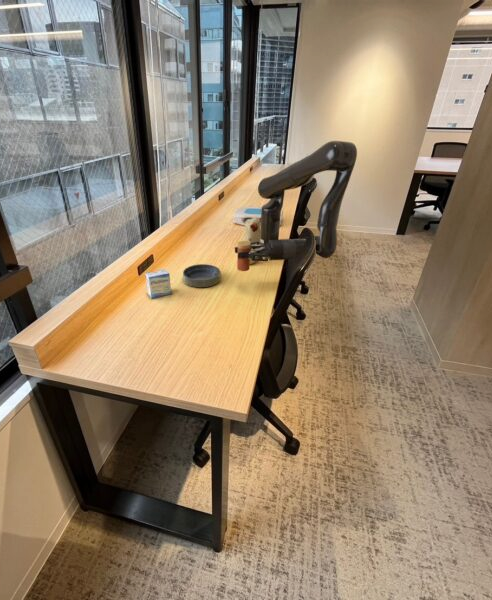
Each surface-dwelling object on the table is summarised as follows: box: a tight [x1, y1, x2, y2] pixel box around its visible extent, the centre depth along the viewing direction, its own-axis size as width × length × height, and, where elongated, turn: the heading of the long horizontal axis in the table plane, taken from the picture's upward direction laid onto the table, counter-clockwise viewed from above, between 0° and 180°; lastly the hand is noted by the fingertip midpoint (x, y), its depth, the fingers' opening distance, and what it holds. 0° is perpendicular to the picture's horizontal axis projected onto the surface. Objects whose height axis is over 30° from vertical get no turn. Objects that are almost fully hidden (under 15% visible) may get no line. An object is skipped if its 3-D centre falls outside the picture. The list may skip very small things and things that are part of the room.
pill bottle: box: [236, 240, 251, 272], centre depth 120 cm, size 5×5×10 cm
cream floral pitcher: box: [243, 217, 261, 265], centre depth 144 cm, size 10×7×20 cm
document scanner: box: [232, 206, 284, 226], centre depth 200 cm, size 21×28×6 cm
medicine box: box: [144, 269, 172, 299], centre depth 121 cm, size 8×4×9 cm, turn 117°
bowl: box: [182, 263, 221, 288], centre depth 132 cm, size 15×15×4 cm
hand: (236, 252), depth 119 cm, fingers closed on pill bottle, 4 cm apart
